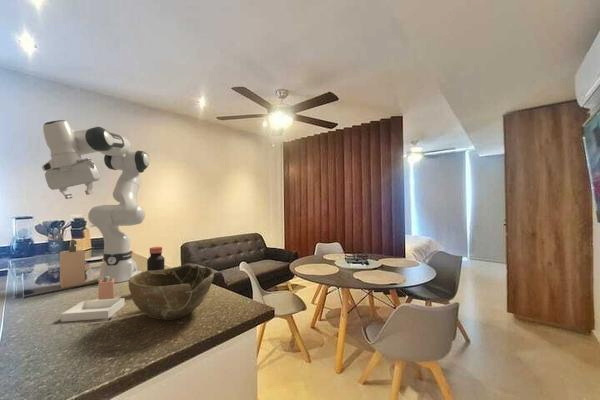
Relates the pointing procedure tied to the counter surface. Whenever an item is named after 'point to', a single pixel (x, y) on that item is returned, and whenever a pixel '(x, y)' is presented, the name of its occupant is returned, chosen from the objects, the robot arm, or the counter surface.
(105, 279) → the peg stand
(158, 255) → the bottle
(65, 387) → the counter surface
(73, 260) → the tan rectangular block
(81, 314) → the tray
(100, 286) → the sleeve
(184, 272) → the bowl
